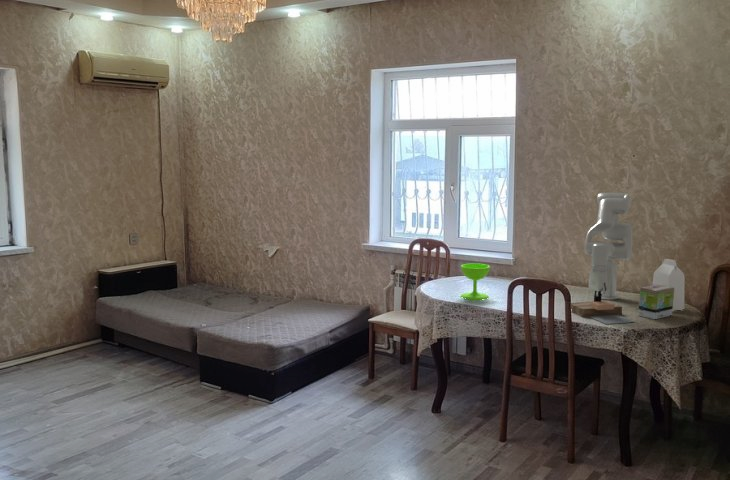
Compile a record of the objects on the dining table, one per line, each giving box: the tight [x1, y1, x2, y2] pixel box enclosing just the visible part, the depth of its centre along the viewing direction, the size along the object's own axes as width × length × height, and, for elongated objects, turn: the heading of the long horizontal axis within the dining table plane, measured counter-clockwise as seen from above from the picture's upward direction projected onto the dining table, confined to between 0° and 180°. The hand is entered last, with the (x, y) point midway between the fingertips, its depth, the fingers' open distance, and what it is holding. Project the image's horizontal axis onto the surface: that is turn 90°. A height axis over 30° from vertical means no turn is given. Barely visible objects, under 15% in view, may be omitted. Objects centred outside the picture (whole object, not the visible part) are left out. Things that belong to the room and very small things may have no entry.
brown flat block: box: [570, 300, 623, 318], centre depth 342 cm, size 14×22×4 cm, turn 104°
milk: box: [651, 258, 686, 312], centre depth 350 cm, size 12×12×26 cm
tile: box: [590, 300, 615, 310], centre depth 335 cm, size 6×9×2 cm, turn 102°
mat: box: [589, 315, 636, 326], centre depth 328 cm, size 14×16×1 cm
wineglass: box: [460, 263, 491, 301], centre depth 376 cm, size 16×16×18 cm
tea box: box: [637, 285, 674, 320], centre depth 335 cm, size 15×10×15 cm, turn 126°
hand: (597, 303), depth 340 cm, fingers closed
